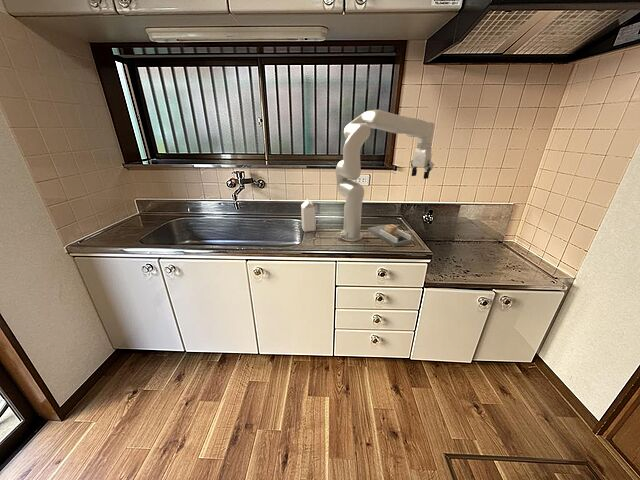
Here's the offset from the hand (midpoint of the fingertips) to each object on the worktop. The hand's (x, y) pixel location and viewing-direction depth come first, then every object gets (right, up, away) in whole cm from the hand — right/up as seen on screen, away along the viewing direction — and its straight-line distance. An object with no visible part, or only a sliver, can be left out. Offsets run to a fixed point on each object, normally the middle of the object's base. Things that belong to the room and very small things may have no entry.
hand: (419, 177), depth 151 cm
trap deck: (-19, -35, -3) cm, 40 cm away
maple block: (-19, -34, -5) cm, 39 cm away
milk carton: (-66, -31, +9) cm, 73 cm away
